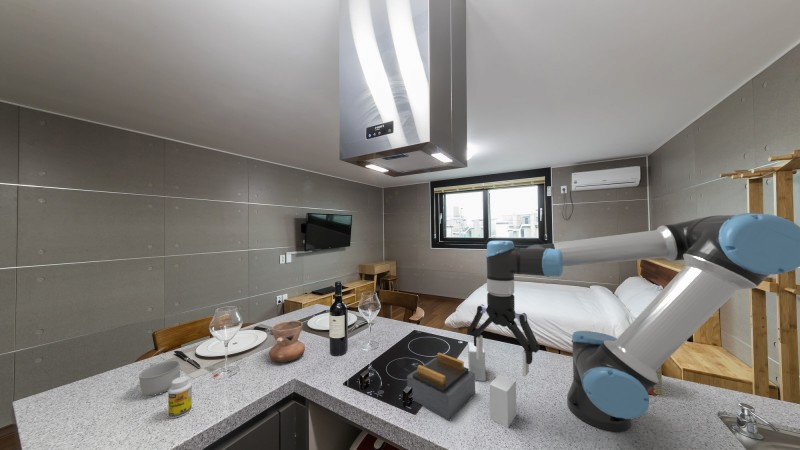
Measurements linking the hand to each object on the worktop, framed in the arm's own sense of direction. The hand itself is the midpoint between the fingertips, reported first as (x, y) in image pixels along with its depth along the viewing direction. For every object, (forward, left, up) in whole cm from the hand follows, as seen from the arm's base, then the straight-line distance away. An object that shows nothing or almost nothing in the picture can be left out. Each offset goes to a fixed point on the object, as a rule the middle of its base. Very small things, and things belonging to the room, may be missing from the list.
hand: (501, 365), depth 77 cm
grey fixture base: (+19, +4, -15) cm, 24 cm away
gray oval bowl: (+97, +67, -15) cm, 119 cm away
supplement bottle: (+75, +64, -15) cm, 99 cm away
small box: (+16, -15, -15) cm, 26 cm away
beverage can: (-30, -45, -15) cm, 56 cm away
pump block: (0, 0, -15) cm, 15 cm away
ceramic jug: (+85, +26, -15) cm, 90 cm away
